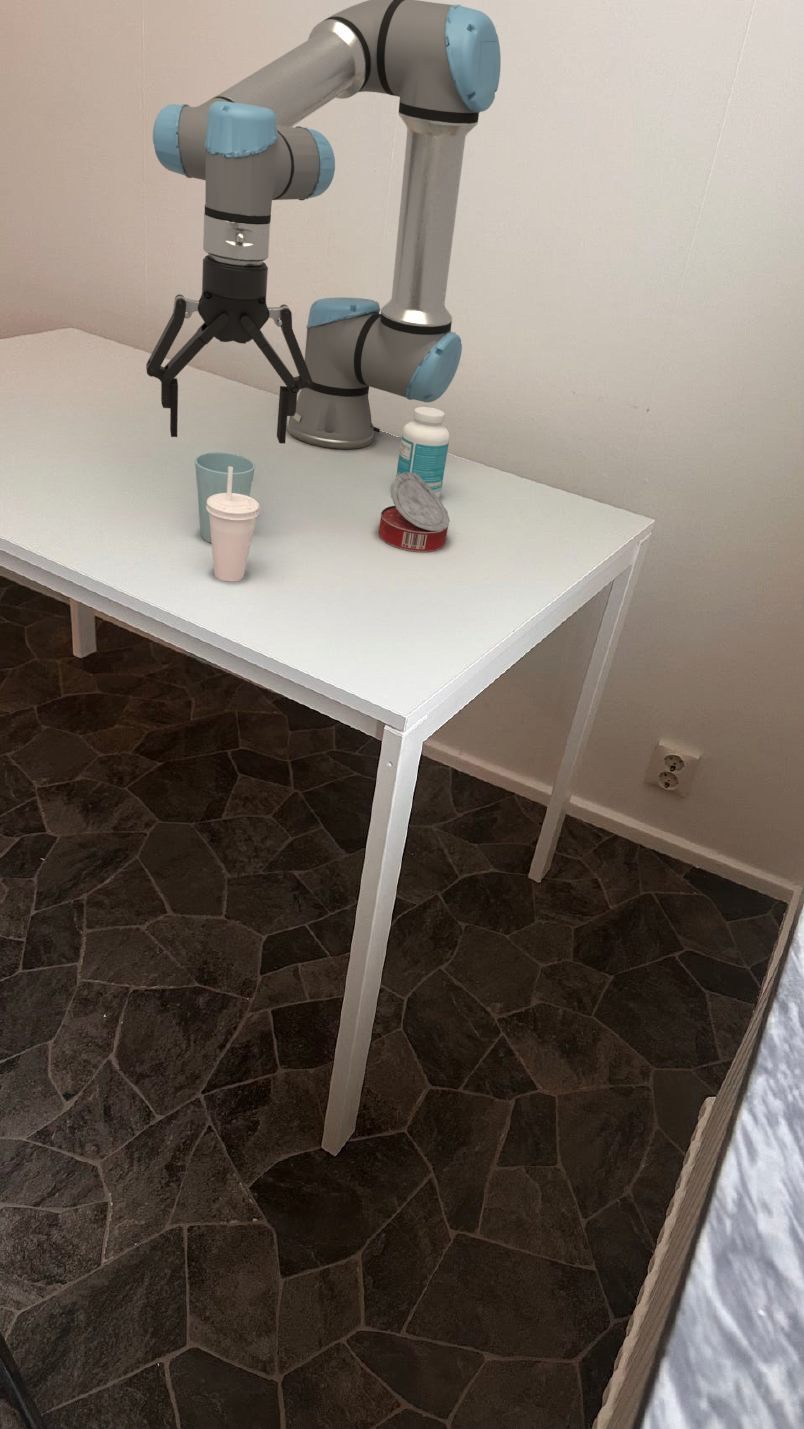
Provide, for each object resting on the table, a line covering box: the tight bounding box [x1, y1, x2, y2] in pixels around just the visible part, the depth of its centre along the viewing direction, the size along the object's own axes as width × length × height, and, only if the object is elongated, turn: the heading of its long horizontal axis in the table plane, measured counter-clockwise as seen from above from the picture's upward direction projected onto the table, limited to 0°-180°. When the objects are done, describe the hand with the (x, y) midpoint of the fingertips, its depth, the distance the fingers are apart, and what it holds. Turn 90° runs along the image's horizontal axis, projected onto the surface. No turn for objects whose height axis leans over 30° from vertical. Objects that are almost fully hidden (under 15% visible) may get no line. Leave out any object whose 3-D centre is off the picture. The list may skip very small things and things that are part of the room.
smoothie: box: [206, 467, 260, 583], centre depth 121 cm, size 6×6×14 cm
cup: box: [194, 451, 256, 544], centre depth 131 cm, size 8×8×10 cm
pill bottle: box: [395, 406, 451, 499], centre depth 155 cm, size 8×7×14 cm
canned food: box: [377, 472, 450, 553], centre depth 142 cm, size 11×10×10 cm
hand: (228, 437), depth 127 cm, fingers open, 13 cm apart
